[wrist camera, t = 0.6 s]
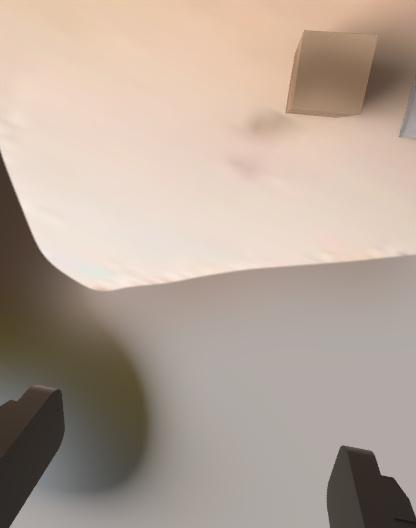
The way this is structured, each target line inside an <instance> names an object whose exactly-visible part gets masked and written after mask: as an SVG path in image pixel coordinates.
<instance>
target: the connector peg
mask: <svg viewBox="0 0 416 528" xmlns="http://www.w3.org/2000/svg"><path fill="white" fill-rule="evenodd" d="M377 39H378V35H369V34H353V33H338V32H322V31H307V30H304V32H303V35H302V37H301V40H300V43H299V45H298V48H297V51H296V53H295V56H294V62H293V68H292V75H291V81H290V88H289V94H288V100H287V107H286V113H293V114H304V115H315V116H326V117H344V116H351V115H358V114H361V110H362V106H363V101H364V97H365V93H366V88H367V84H368V79H369V75H370V70H371V66H372V62H373V57H374V53H375V48H376V44H377Z"/></svg>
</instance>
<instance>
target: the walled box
mask: <svg viewBox="0 0 416 528" xmlns="http://www.w3.org/2000/svg"><path fill="white" fill-rule="evenodd" d="M399 137H404V138H414V139H416V75H415V79H414V83H413V87H412V90H411V94H410V98H409V102H408V105H407V109H406V113H405V117H404V120H403V124H402V128H401V131H400V135H399Z"/></svg>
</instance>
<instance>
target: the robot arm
mask: <svg viewBox="0 0 416 528" xmlns="http://www.w3.org/2000/svg"><path fill="white" fill-rule="evenodd" d="M64 431H65V424H64V413H63V401H62V393H61V391H60V390H59V389H55V388H49V387H44V386H39V385H33V386H32V387H30V388H29V389H28V390H27V391H26V392H25V393H24V395H23V396H22V397H21V398H20V399H19V400H18V401H13V400H10V401H8V402H7V403H5V404H3V405H2V406H0V528H9V527H10V525H11V524H12V522H13V521H14V519H15V517H16V516H17V514H18V513H19V511H20V510H21V508H22V506H23V505H24V503H25V501H26V500H27V498H28V497H29V495H30V494H31V492H32V490H33V488H34V487H35V486H36V484H37V483H38V481H39V479H40V478H41V476H42V475H43V473H44V471H45V470H46V468H47V467H48V465H49V463H50V462H51V460H52V458H53V457H54V456H55V454H56V452H57V451H58V449H59V447H60V445H61V442H62V439H63V436H64ZM327 510H328V516H329V523H330V528H416V517H415V514H414V511H413V509H412V506H411V503H410V500H409V498H408V497H407V496H406V494H405V493H404V492H403V490H402V489H401V488H400V486H399V485H398V484H397V482H396V481H395V479H394V478H392V477H387V476H382V475H381V474H380V471H379V467H378V464H377V461H376V458H375V455H374V453H373V452H372V451H369V450H364V449H359V448H353V447H348V446H341V447H340V449H339V452H338V455H337V458H336V461H335V464H334V467H333V470H332V473H331V476H330V479H329V483H328V488H327Z"/></svg>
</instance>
